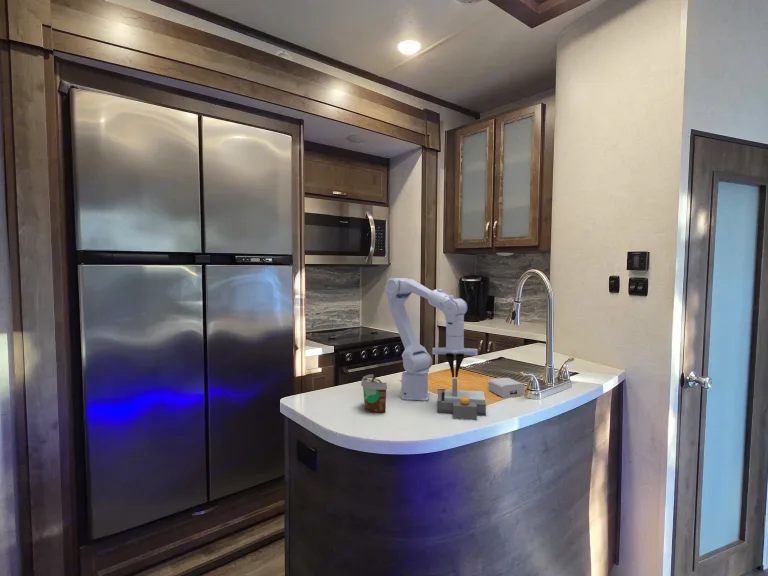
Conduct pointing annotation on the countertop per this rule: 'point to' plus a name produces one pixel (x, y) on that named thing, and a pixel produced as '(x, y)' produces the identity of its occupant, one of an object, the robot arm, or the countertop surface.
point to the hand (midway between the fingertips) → (454, 376)
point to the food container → (374, 394)
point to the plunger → (464, 400)
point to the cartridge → (463, 394)
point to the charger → (506, 387)
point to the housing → (460, 408)
